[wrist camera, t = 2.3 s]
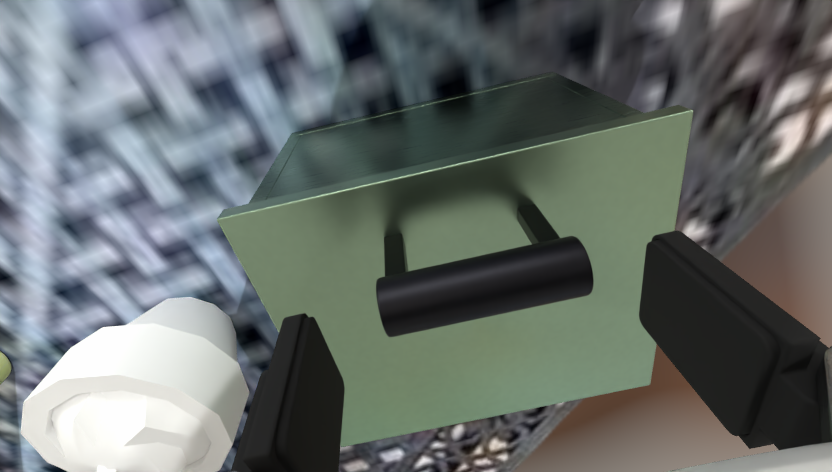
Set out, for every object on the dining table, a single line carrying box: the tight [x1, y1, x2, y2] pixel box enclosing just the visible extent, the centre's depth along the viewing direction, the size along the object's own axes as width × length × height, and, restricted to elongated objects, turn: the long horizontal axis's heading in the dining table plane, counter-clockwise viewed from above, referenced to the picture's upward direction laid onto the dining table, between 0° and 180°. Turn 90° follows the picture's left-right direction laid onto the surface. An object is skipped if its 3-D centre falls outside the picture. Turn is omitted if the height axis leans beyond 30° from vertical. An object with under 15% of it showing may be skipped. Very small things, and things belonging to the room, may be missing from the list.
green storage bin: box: [249, 72, 643, 204], centre depth 23 cm, size 14×17×12 cm
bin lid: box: [217, 105, 693, 447], centre depth 16 cm, size 14×17×5 cm
